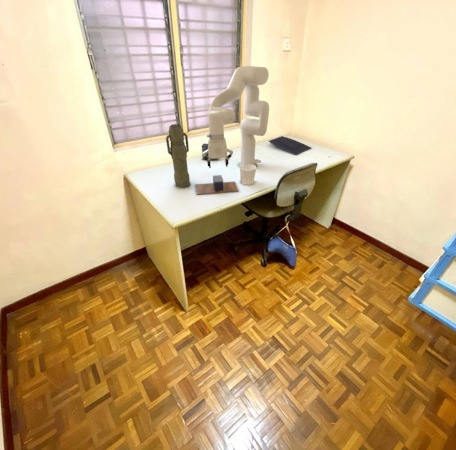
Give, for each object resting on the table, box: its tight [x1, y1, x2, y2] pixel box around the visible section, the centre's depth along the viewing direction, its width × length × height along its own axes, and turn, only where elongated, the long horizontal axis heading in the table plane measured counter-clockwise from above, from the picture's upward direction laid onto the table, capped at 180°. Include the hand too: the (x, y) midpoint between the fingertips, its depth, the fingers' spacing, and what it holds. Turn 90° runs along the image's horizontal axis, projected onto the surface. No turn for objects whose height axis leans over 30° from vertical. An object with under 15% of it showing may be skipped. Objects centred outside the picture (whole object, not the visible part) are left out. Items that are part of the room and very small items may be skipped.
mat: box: [195, 181, 239, 196], centre depth 150 cm, size 24×12×1 cm, turn 101°
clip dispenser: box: [212, 174, 224, 191], centre depth 148 cm, size 5×8×6 cm, turn 11°
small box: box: [201, 143, 218, 161], centre depth 185 cm, size 11×6×10 cm, turn 84°
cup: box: [239, 164, 257, 186], centre depth 154 cm, size 10×10×10 cm
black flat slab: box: [268, 135, 312, 156], centre depth 210 cm, size 24×30×4 cm
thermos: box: [165, 123, 191, 189], centre depth 143 cm, size 9×12×35 cm
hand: (218, 166), depth 143 cm, fingers open, 9 cm apart
